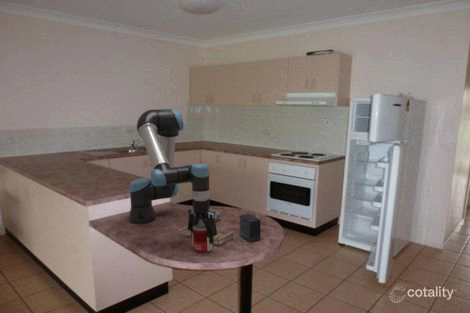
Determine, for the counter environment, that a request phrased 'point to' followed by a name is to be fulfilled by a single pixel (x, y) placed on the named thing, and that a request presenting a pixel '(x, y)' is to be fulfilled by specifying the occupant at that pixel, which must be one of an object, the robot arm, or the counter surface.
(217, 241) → the notched rail
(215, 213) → the dish
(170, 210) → the counter surface
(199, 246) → the canned food
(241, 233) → the small box
